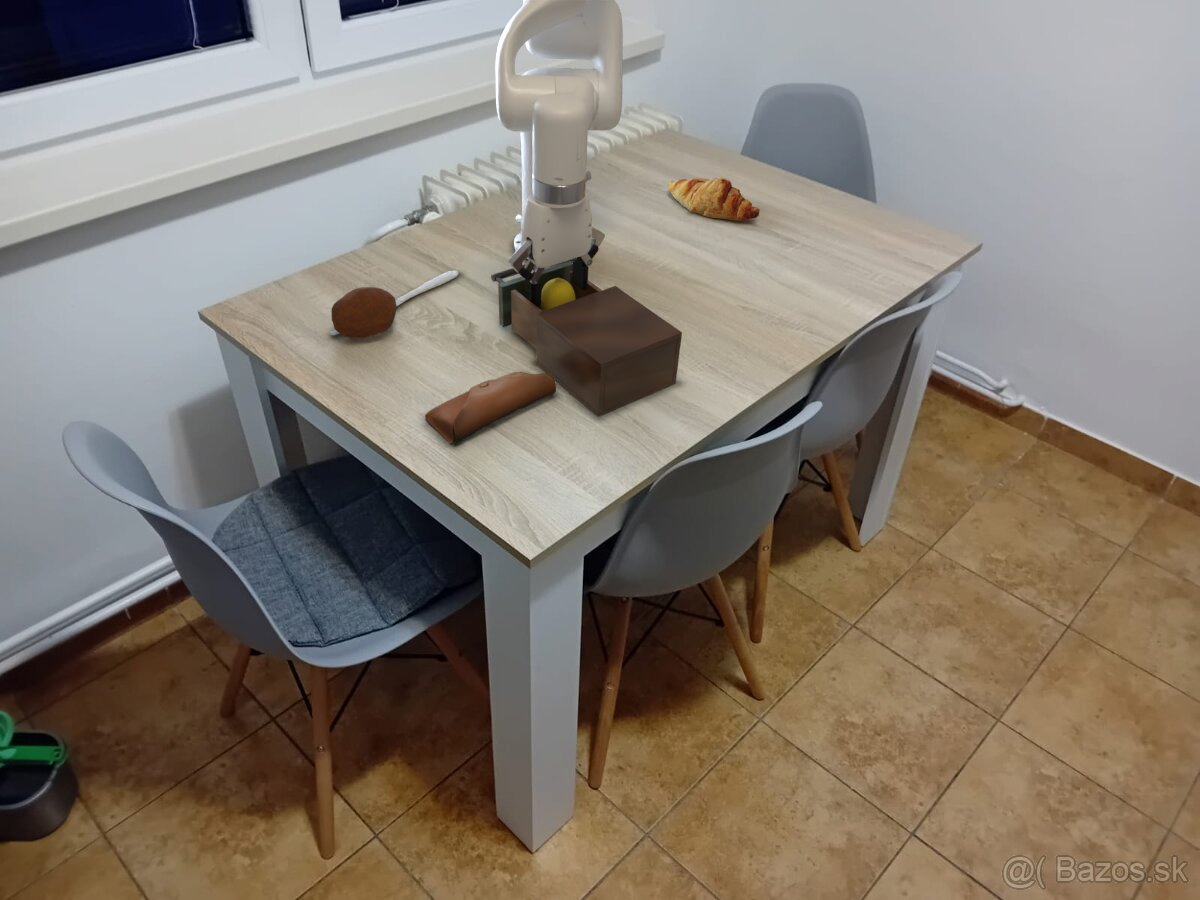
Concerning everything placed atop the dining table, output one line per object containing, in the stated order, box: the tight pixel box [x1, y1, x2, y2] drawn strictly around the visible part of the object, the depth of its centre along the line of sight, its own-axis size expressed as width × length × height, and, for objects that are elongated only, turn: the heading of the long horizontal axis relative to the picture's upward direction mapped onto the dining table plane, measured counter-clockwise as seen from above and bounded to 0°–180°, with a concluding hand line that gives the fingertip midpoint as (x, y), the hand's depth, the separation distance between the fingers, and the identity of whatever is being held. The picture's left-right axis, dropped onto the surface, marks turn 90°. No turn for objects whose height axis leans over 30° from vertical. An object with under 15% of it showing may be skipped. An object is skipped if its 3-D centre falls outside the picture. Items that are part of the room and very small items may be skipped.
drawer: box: [490, 260, 603, 350], centre depth 143 cm, size 21×13×7 cm, turn 37°
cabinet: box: [536, 285, 683, 418], centre depth 134 cm, size 16×15×9 cm
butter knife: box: [329, 269, 460, 336], centre depth 149 cm, size 1×27×3 cm
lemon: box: [540, 278, 576, 311], centre depth 141 cm, size 6×6×8 cm
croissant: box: [667, 177, 761, 222], centre depth 180 cm, size 21×10×8 cm
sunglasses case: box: [424, 371, 557, 445], centre depth 128 cm, size 18×7×7 cm
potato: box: [331, 286, 398, 339], centre depth 140 cm, size 8×11×8 cm
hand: (556, 293), depth 140 cm, fingers open, 8 cm apart
